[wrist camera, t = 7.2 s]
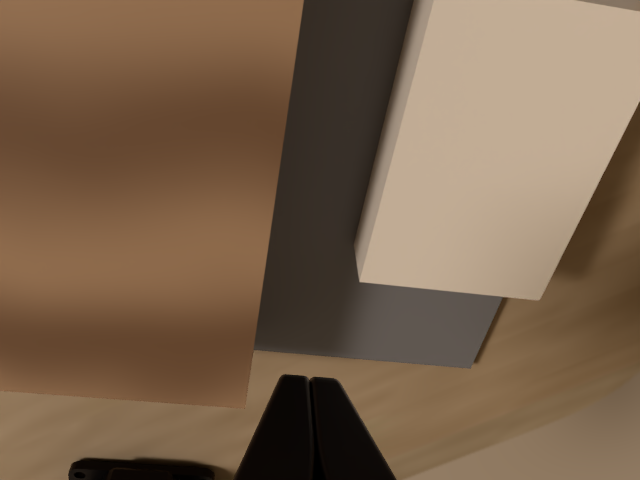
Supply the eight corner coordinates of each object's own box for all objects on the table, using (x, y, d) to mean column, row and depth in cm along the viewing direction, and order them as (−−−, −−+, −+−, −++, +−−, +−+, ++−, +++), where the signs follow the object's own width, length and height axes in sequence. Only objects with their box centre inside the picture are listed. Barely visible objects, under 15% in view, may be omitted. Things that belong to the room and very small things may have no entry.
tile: (359, 281, 18) (353, 244, 20) (539, 300, 19) (520, 262, 21) (440, -24, 13) (423, -41, 15) (680, 18, 14) (640, -3, 16)
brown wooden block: (251, 323, 23) (244, 408, 19) (-57, 294, 21) (-120, 381, 18) (337, -304, 12) (354, -347, 9) (-250, -441, 11) (-478, -551, 8)
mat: (468, 361, 24) (470, 368, 24) (248, 342, 23) (248, 349, 23) (749, -270, 13) (761, -273, 13) (346, -371, 12) (347, -376, 11)
